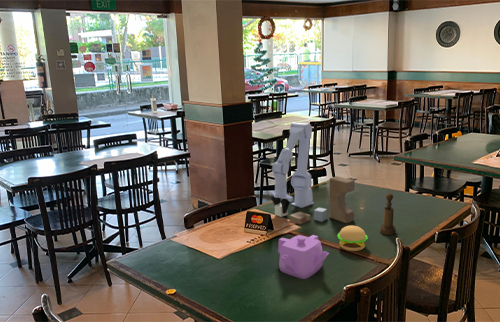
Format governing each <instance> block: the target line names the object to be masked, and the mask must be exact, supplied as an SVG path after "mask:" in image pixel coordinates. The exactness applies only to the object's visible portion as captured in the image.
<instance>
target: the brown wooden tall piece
mask: <svg viewBox="0 0 500 322" xmlns="http://www.w3.org/2000/svg"><path fill="white" fill-rule="evenodd" d="M385 198H386V203H385V204H386V207H384V208H383V224H382V225H380V227H379V231H380V234H382V235H385V236H386V235H387V236H393V235H395V234H396V233H397V228H396V226H395V225H394V210H395V209H394V207H392V204H393V203H392V200H393V199H394V195H393V193H391V192H389V193H386V195H385Z"/></svg>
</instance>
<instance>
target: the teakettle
mask: <svg viewBox="0 0 500 322" xmlns="http://www.w3.org/2000/svg"><path fill="white" fill-rule="evenodd" d="M277 253H278V254H279V259H278V260H279V262H278V263H279V265H278V266H279V270H280V272H282V273H284V274H287V275H289V276H291V277H295V278H298V279H300V280H306V279H308V278H310V277H312V276H314V275H315V274H316V273H317V272H318V271H319V270H321V268H322V266H323V264H324V261H325V259H326V258H327V257H328V256H329V254H330V252H328V251H326V250H323V247H322V242H321V241H320V240H319V236H318V235H315V234H312V235H309V236H304V235H301V234H298V235H295V236H293V237H292V238H285V237H281V238H279V239H278V247H277Z"/></svg>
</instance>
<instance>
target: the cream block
mask: <svg viewBox="0 0 500 322" xmlns="http://www.w3.org/2000/svg"><path fill="white" fill-rule="evenodd" d="M288 209H289V208H288ZM288 209H287V213H285V214H283V211H282V204H281V202H280V204H277V205H275V206H274V215H275V216H277V217H281V218H282V217H284V216H285V217H286V216H287V215H289V214H288V213H289V212H288Z"/></svg>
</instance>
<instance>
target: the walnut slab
mask: <svg viewBox="0 0 500 322" xmlns="http://www.w3.org/2000/svg"><path fill="white" fill-rule="evenodd" d="M289 221H291V222H293V221H294V222H293V223H295V224H298V225H301V224H304V223H308V222H310V221H311V215H310V214H309V213H306V212H302V211H298V212H295V213H291V214H290V215H289Z"/></svg>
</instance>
